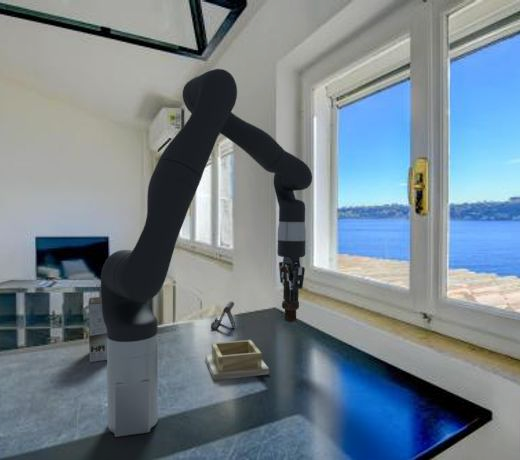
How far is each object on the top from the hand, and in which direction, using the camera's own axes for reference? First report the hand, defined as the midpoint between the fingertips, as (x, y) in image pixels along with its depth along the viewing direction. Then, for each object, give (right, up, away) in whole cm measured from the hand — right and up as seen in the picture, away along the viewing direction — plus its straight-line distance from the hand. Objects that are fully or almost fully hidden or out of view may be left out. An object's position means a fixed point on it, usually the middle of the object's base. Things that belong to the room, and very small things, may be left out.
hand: (290, 301), depth 106 cm
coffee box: (-53, -16, +5) cm, 56 cm away
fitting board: (-15, -17, -2) cm, 22 cm away
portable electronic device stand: (-21, -16, +34) cm, 43 cm away
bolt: (0, -6, 0) cm, 6 cm away
